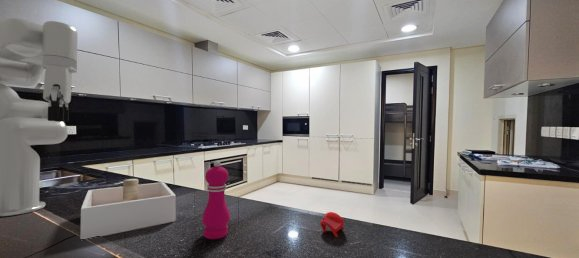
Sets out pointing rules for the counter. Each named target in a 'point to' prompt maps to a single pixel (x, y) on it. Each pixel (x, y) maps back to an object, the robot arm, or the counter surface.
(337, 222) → the red toy chair
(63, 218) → the counter surface
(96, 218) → the box
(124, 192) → the peg
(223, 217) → the pepper mill
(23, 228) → the counter surface
